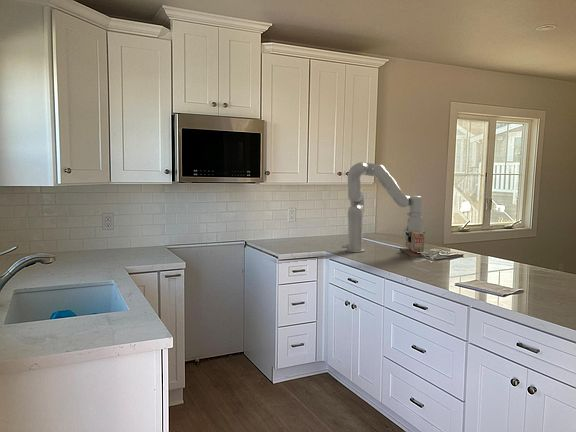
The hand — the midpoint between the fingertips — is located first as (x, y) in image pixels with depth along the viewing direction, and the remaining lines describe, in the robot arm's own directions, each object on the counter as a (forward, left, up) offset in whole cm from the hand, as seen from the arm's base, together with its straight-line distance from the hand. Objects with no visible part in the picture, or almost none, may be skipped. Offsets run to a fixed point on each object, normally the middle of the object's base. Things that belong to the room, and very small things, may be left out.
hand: (414, 241), depth 303 cm
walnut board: (0, 0, -7) cm, 7 cm away
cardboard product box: (0, +1, -5) cm, 5 cm away
